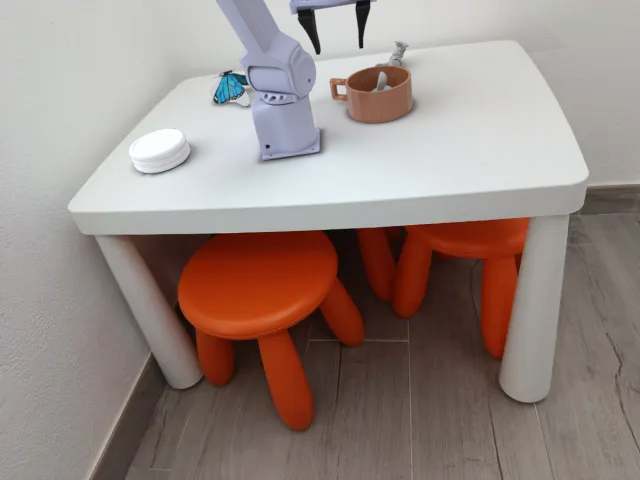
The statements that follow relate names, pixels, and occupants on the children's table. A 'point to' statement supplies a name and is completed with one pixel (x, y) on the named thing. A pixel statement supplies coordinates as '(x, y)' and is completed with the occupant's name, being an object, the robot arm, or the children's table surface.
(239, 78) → the decorative butterfly
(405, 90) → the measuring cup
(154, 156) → the white round disc
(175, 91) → the children's table surface
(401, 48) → the soldier figure
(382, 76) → the pacifier
